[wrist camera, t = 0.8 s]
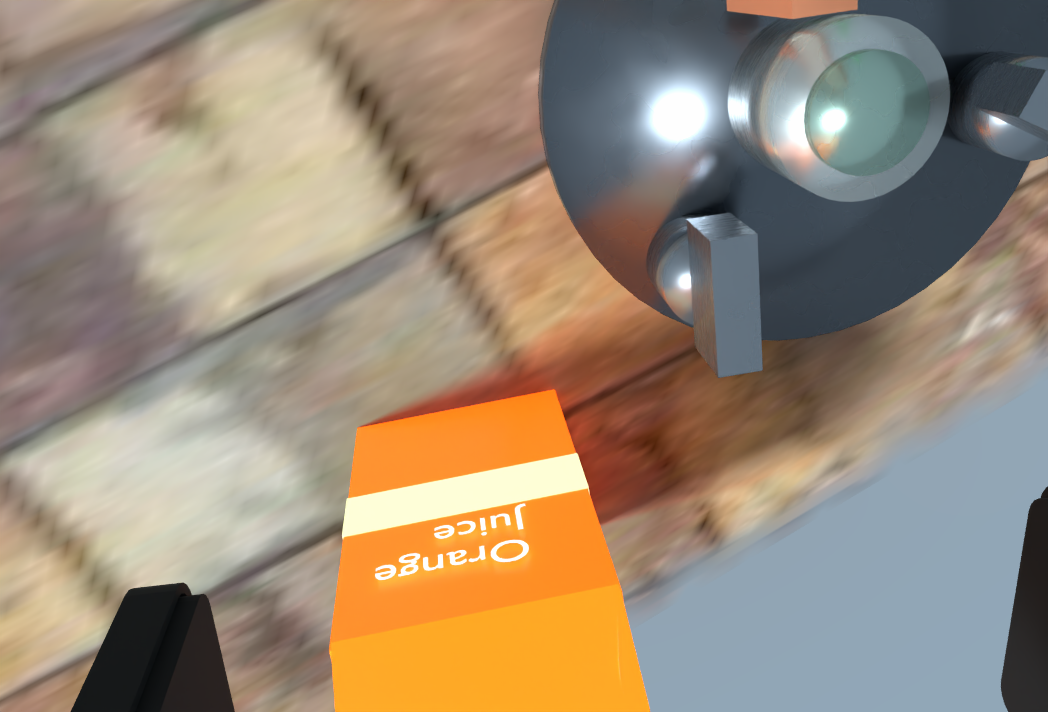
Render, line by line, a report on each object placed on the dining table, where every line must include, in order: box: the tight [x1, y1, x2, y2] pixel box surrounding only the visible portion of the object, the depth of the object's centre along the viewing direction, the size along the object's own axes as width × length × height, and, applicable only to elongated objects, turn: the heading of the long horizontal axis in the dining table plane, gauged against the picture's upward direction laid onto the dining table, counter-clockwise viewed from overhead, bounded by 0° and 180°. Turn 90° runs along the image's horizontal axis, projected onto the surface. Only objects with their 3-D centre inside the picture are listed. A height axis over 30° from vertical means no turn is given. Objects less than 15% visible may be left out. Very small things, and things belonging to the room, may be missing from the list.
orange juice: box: [329, 389, 650, 712], centre depth 33 cm, size 8×9×20 cm
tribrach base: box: [538, 0, 1048, 378], centre depth 34 cm, size 20×20×8 cm
